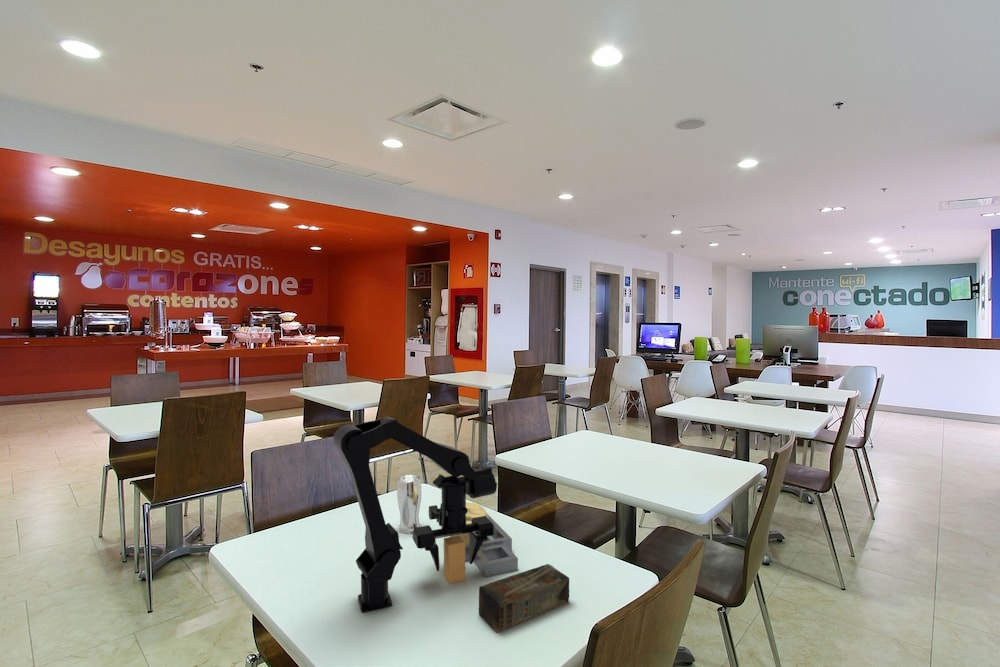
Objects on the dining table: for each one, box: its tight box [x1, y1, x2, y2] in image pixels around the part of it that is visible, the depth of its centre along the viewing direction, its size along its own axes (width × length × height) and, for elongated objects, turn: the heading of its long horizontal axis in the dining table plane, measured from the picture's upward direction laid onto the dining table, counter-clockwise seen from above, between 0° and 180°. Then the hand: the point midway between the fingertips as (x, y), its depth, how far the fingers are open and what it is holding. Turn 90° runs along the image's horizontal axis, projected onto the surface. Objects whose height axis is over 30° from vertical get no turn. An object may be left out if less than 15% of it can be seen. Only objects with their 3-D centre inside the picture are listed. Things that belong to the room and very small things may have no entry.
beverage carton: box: [478, 563, 570, 633], centre depth 106 cm, size 8×19×7 cm, turn 124°
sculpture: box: [449, 502, 489, 545], centre depth 138 cm, size 12×12×11 cm
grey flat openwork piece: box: [440, 514, 519, 578], centre depth 134 cm, size 29×14×4 cm, turn 22°
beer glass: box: [396, 474, 422, 534], centre depth 146 cm, size 7×7×15 cm
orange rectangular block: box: [443, 536, 466, 584], centre depth 119 cm, size 4×4×9 cm
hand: (454, 566), depth 119 cm, fingers open, 8 cm apart
